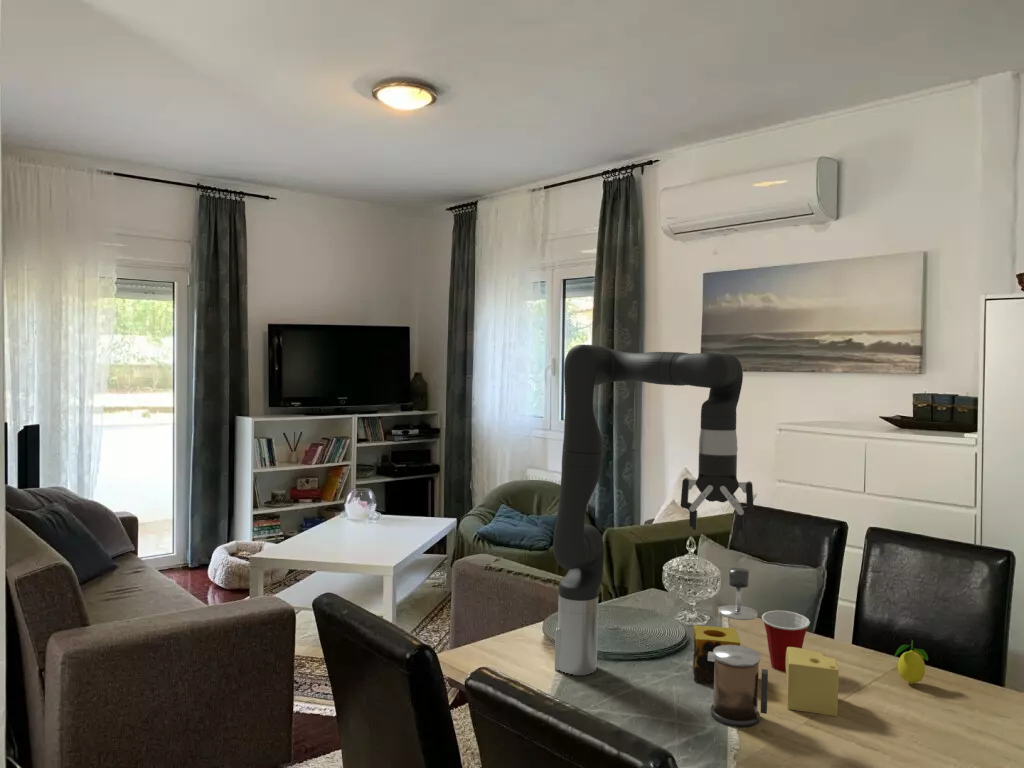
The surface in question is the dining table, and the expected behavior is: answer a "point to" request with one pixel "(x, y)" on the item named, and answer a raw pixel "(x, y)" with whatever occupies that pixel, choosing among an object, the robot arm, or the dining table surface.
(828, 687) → the cheese
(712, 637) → the yellow patterned cube
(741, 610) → the plunger
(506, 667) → the dining table surface
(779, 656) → the plastic cup
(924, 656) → the lemon
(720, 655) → the carafe
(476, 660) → the dining table surface
